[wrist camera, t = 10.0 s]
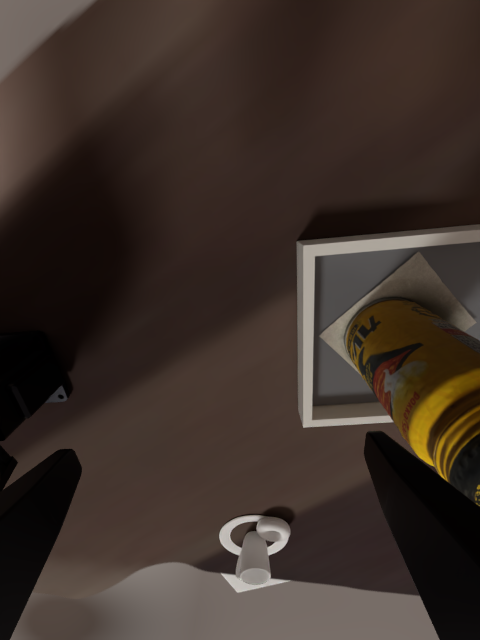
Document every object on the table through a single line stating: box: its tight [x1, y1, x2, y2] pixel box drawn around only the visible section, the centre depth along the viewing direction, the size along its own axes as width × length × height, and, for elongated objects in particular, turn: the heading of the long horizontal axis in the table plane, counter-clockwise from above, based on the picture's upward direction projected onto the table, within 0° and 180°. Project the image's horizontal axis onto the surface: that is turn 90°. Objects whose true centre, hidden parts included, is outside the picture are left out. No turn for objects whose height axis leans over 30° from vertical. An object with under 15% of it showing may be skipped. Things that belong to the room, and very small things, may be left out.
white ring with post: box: [219, 515, 291, 593], centre depth 30 cm, size 9×8×4 cm
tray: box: [297, 224, 480, 427], centre depth 20 cm, size 14×14×2 cm
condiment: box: [320, 252, 480, 506], centre depth 15 cm, size 7×8×12 cm
